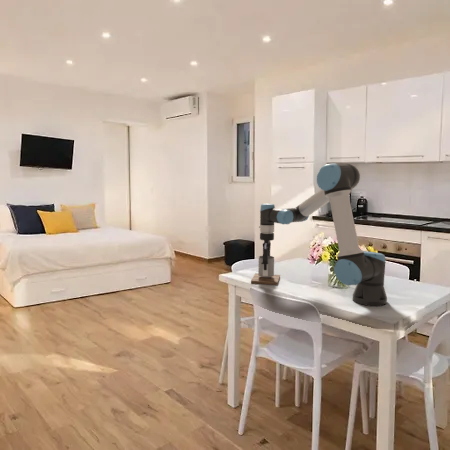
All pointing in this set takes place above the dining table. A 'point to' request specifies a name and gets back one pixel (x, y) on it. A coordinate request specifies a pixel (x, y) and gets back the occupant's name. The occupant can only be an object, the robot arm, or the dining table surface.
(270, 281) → the walnut board
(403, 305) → the dining table surface
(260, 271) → the cup
